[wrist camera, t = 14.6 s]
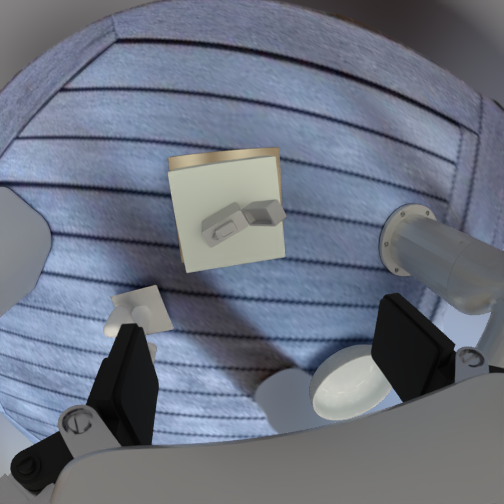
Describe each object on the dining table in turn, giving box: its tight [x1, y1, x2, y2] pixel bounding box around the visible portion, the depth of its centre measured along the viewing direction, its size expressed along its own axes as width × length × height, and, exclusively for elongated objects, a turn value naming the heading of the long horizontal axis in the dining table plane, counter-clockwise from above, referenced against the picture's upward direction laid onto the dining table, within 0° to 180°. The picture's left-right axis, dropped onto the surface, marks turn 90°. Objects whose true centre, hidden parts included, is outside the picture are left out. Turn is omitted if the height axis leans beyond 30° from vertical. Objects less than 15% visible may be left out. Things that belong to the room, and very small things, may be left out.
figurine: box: [103, 285, 174, 364], centre depth 36 cm, size 7×9×15 cm
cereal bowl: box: [309, 344, 392, 420], centre depth 50 cm, size 17×17×7 cm
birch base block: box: [168, 147, 283, 262], centre depth 38 cm, size 13×13×5 cm
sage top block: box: [168, 155, 285, 273], centre depth 34 cm, size 11×11×5 cm
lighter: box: [202, 199, 286, 248], centre depth 27 cm, size 7×2×8 cm, turn 119°
